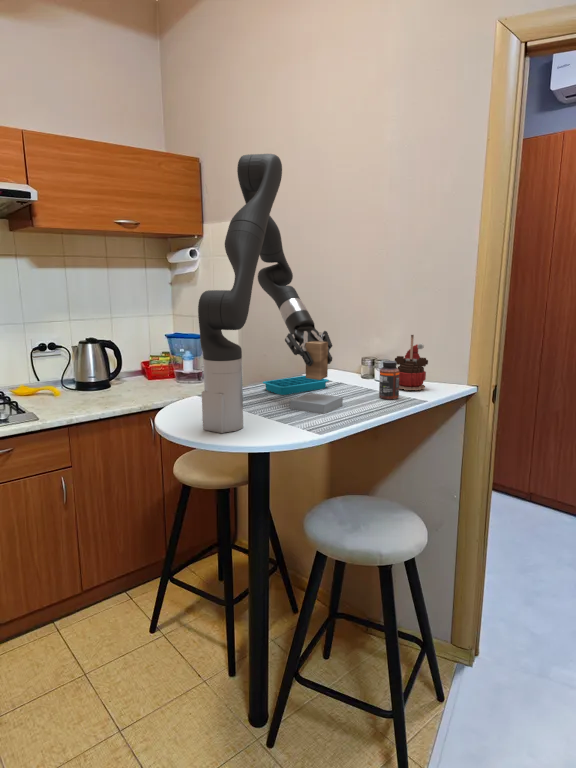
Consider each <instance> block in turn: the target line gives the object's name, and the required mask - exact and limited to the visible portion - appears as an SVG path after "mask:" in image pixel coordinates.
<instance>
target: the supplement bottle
mask: <svg viewBox="0 0 576 768" xmlns="http://www.w3.org/2000/svg"><path fill="white" fill-rule="evenodd" d="M378 386H379V388H378V389H379V390H378V396H379V399H382V400H397V399H399V397H400V389H399V369H398V366H397V362H396V361H395V360H384V361H383V362H382V367H381V368H380V369H379V385H378Z"/></svg>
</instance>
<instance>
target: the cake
mask: <svg viewBox="0 0 576 768" xmlns="http://www.w3.org/2000/svg"><path fill="white" fill-rule="evenodd" d="M414 338H415V337H414V334H410V348H409V349H408V350H407V351H406V353H405V355H404V356H403V355H397V356H396V357H395V358H394V361H396V366H397V365H399V366H397V368H398V369H399V390H402V389H404V390H403V391H408V390H415V391H418V390H419V391H420V390H424V389H425V388H426V385H425V384H424V381H426V377H427V375H426V373H427V372H426V371H425V367H426V366H427V365H428V364H429V360H428V359H427V357H421V356H420V353H419V350H423V349H424V347H425V345H424V344H423V343H417V344H414V340H415V339H414Z"/></svg>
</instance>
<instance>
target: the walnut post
mask: <svg viewBox="0 0 576 768" xmlns="http://www.w3.org/2000/svg"><path fill="white" fill-rule="evenodd" d="M306 347H307V352H309V354H310V356H311V358H312V360H313V364H312V365H311V366H308V365H306V364H305V376H306V378H309V379H317V380H320V379H327V378H328V376H329V375H328V370H329V369H328V367H329V366H328V365H329V364H328V342H322V341H311V342H307V343H306Z"/></svg>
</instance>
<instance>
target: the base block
mask: <svg viewBox="0 0 576 768" xmlns="http://www.w3.org/2000/svg"><path fill="white" fill-rule="evenodd" d="M343 398H344V397H343V396H338V395H329V394H323V393H321V394H320V393H313V392H308V393H305V394H302V395H300V396H297V397H295V398H292V399H290V400H289V409H291V410H296V411H301V412H308V411H309V412H308V413H314V412H315V414H322V415H326V414H327V413H330V412H332V411H334V410H336V409H338V408H340V407H343V401H344V400H343ZM325 413H326V414H325Z"/></svg>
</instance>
